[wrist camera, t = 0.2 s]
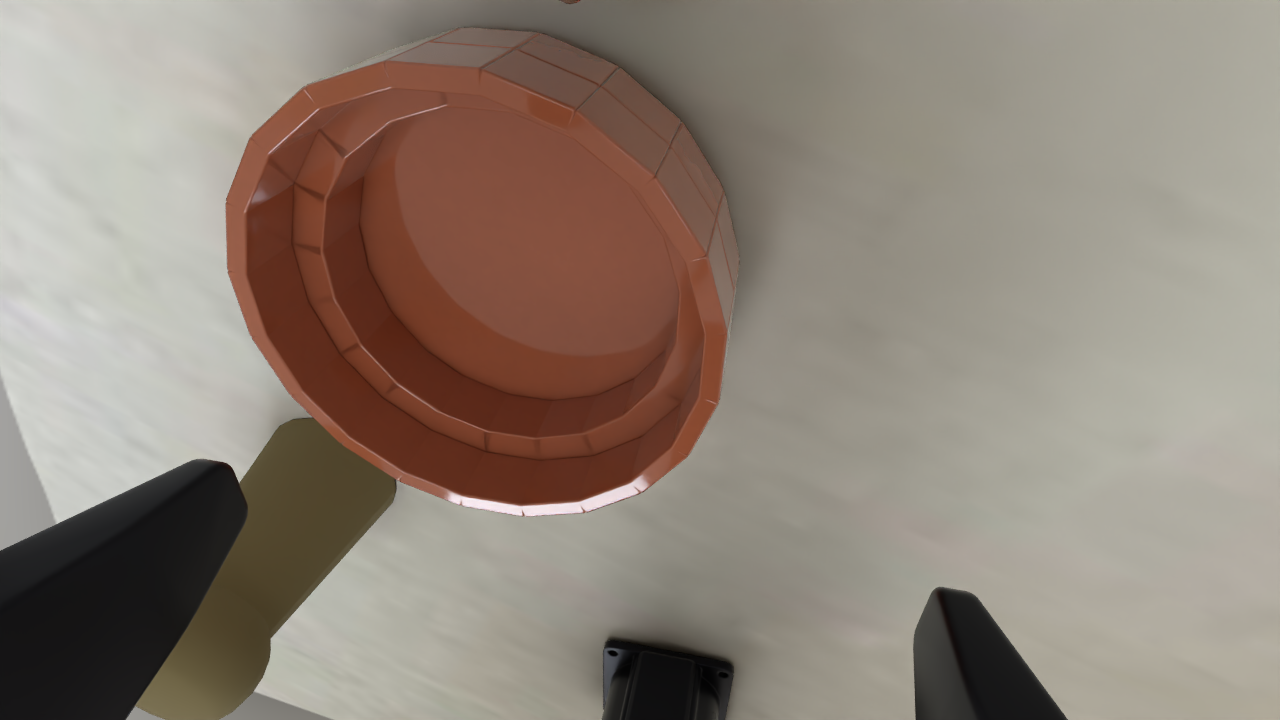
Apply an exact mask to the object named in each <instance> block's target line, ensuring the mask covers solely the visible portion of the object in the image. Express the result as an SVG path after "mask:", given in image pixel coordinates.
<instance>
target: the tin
mask: <svg viewBox="0 0 1280 720" xmlns="http://www.w3.org/2000/svg"><path fill="white" fill-rule="evenodd" d="M560 1H562V2H564V3H568V4H572V3H577V2H579V1H580V0H560Z"/></svg>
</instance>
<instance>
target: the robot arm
mask: <svg viewBox="0 0 1280 720" xmlns="http://www.w3.org/2000/svg"><path fill="white" fill-rule="evenodd" d="M247 516H248V505H247V502H246V499H245V497H244V494H243V492H242V489H241V487H240V485H239V482H238V480H237V477H236V475H235V473H234V470H233V469H232V467H231V466H230V465H228V464H227V463H224V462H219V461H213V460H207V459H196V460H192V461H190V462H187V463H185V464H183V465H181V466H179V467H177V468H175V469H173V470H171V471H168V472H166V473H164V474H162V475H160V476H158V477H156V478H154V479H151V480H149V481H147V482H145V483H143V484H141V485H139V486H137V487H135V488H132V489H130V490H128V491H126V492H124V493H122V494H120V495H118V496H116V497H113V498H111V499H109V500H107V501H105V502H103V503H101V504H99V505H96V506H94V507H92V508H90V509H88V510H86V511H84V512H82V513H80V514H77V515H75V516H73V517H71V518H69V519H67V520H65V521H63V522H60V523H58V524H56V525H54V526H52V527H50V528H48V529H46V530H44V531H41V532H39V533H37V534H35V535H33V536H31V537H29V538H27V539H24V540H23V541H20V542H18V543H16V544H14V545H12V546H10V547H7V548H5V549H3V550H1V551H0V720H126V718H127V717H128V716H129V714H130V713H131V711H132V710H133V708H134V707H135V705H136V704H137V702H138V701H139V699H140V698H141V696H142V695H143V693H144V692H145V691H146V689H147V688H148V686H149V685H150V683H151V682H152V680H153V679H154V677H155V676H156V674H157V673H158V671H159V670H160V668H161V667H162V665H163V664H164V662H165V661H166V659H167V658H168V656H169V655H170V654H171V652H172V651H173V649H174V648H175V646H176V645H177V643H178V642H179V640H180V638H181V637H182V635H183V634H184V632H185V631H186V629H187V628H188V626H189V624H190V622H191V621H192V619H193V617H194V616H195V614H196V612H197V610H198V609H199V607H200V605H201V603H202V601H203V600H204V598H205V596H206V594H207V592H208V590H209V589H210V587H211V585H212V583H213V581H214V579H215V578H216V576H217V574H218V572H219V570H220V568H221V567H222V565H223V563H224V561H225V559H226V557H227V556H228V554H229V552H230V550H231V548H232V547H233V545H234V543H235V541H236V539H237V537H238V536H239V534H240V532H241V530H242V528H243V526H244V524H245V522H246V519H247ZM913 653H914V683H915V713H916V720H1068V719H1067V718H1066V717H1065V715H1064V714H1063V713H1062V711H1061V710H1060V709H1059V707H1058V706H1057V704H1056V703H1055V702H1054V700H1053V699H1052V698H1051V696H1050V695H1049V694H1048V692H1047V691H1046V690H1045V688H1044V687H1043V686H1042V684H1041V683H1040V682H1039V680H1038V679H1037V677H1036V676H1035V675H1034V673H1033V672H1032V671H1031V669H1030V668H1029V667H1028V665H1027V664H1026V663H1025V661H1024V660H1023V659H1022V657H1021V656H1020V654H1019V653H1018V652H1017V650H1016V649H1015V648H1014V646H1013V645H1012V644H1011V642H1010V641H1009V640H1008V638H1007V637H1006V636H1005V634H1004V633H1003V632H1002V630H1001V629H1000V627H999V626H998V625H997V623H996V622H995V621H994V619H993V618H992V617H991V615H990V614H989V613H988V611H987V610H986V609H985V607H984V606H983V604H982V603H981V602H980V600H979V599H978V598H977V597H976V596H975V595H973V594H972V593H970V592H967V591H962V590H956V589H950V588H944V587H937V588H935V589H934V590H933V591H932V593H931V595H930V597H929V599H928V602H927V604H926V606H925V608H924V611H923V613H922V615H921V618H920V620H919V622H918V624H917V627H916V630H915V634H914V644H913ZM733 673H734V667H733V666H732V665H731V664H729V663H727V662H724V661H718V660H713V659H708V658H703V657H698V656H693V655H687V654H682V653H677V652H672V651H667V650H662V649H656V648H651V647H646V646H641V645H636V644H631V643H625V642H620V641H615V640H610V641H607V642H606V643H605V647H604V650H603V709H604V712H603V716H602V720H725V717H726V712H727V707H728V701H729V696H730V691H731V686H732V680H733Z"/></svg>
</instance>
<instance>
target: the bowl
mask: <svg viewBox="0 0 1280 720" xmlns="http://www.w3.org/2000/svg"><path fill="white" fill-rule="evenodd" d="M226 201H227V202H226V240H227V269H228V274H229V277H230V280H231V283H232V286H233V289H234V291H235V294H236V297H237V300H238V303H239V305H240V308H241V311H242V314H243V317H244V320H245V322H246V325H247V328H248V331H249V334H250V336H252V339H253V341H254V342H255V344H256V345H257V347H258V348H259V350H260V351H261V353H262V354H263V356H264V357H265V359H266V360H267V362H268V363H269V365H270V366H271V368H272V369H273V371H274V372H275V374H276V375H277V377H278V378H279V380H280V381H281V383H282V384H283V386H284V387H285V389H286V390H287V392H288V393H289V394H290V395H291V396H292V398H293V399H294V400H295V401H296V402H297V403H298V404H300V405H301V406H302V407H303V408H304V409H305V410H306V411H307V412H308V413H309V414H310V415H311V416H312V417H313V418H314V419H315V420H316V421H317V422H318V423H319V424H320V425H321V426H322V427H323V428H324V429H326V430H327V431H328V432H329V433H330V434H331V435H332V436H333V437H334V438H335V439H336V440H337V441H338V442H339V443H342V445H343V446H344V447H346V448H347V449H349V450H351V451H352V452H354V453H355V454H357V455H358V456H360V457H362V458H363V459H365V460H366V461H368V462H369V463H371V464H372V465H374V466H376V467H377V468H379V469H380V470H382V471H383V472H385V473H387V474H388V475H390V476H391V477H393V478H394V479H396V480H398V481H399V480H400V482H402V483H404V484H407V485H409V486H412V487H414V488H417V489H419V490H422V491H424V492H427V493H430V494H432V495H435V496H437V497H440V498H442V499H445V500H447V501H450V502H452V503H455V504H457V505H462V506H464V507H470V508H476V509H482V510H488V511H493V512H499V513H505V514H511V515H517V516H526V517H529V516H545V515H561V514H577V513H585V512H590V511H593V510H596V509H598V508H601V507H604V506H607V505H610V504H613V503H615V502H618V501H621V500H624V499H627V498H630V497H632V496H635V495H638V494H640V493H642V492H644V491H645V490H647V489H648V488H649V487H650V486H652V485H653V484H654V483H655V482H657V481H658V480H659V479H661V478H662V477H663V476H664V475H666V474H667V473H668V472H669V471H671V470H672V469H673V468H674V467H676V466H677V465H678V464H679V463H681V462H682V461H683V460H684V459H686V458H687V457H688V455H689V454H690V453H691V451H692V449H693V448H694V446H695V444H696V442H697V441H698V439H699V437H700V435H701V434H702V432H703V430H704V428H705V427H706V425H707V423H708V421H709V420H710V418H711V416H712V414H713V413H714V411H715V409H716V407H717V405H718V404H719V400H720V395H721V389H722V383H723V377H724V370H725V364H726V358H727V351H728V345H729V339H730V333H731V326H732V320H733V312H734V304H735V296H736V288H737V280H738V272H739V264H740V261H739V252H738V248H737V243H736V239H735V235H734V230H733V226H732V221H731V217H730V213H729V208H728V204H727V200H726V195H725V192H724V191H723V187H722V185H721V183H720V182H719V180H718V178H717V177H716V175H715V174H714V172H713V170H712V169H711V167H710V165H709V164H708V162H707V160H706V159H705V157H704V155H703V154H702V152H701V151H700V149H699V147H698V146H697V144H696V142H695V141H694V139H693V137H692V136H691V134H690V132H689V131H688V129H687V128H686V126H685V124H684V123H681V120H680V119H679V118H678V117H677V116H676V115H675V114H673V113H672V112H671V111H670V110H669V109H668V108H666V107H665V106H664V105H663V104H662V103H661V102H660V101H658V100H657V99H656V98H655V97H654V96H653V95H652V94H650V93H649V92H648V91H647V90H646V89H645V88H644V87H642V86H641V85H640V84H639V83H638V82H637V81H635V80H634V79H633V78H632V77H631V76H630V75H629V74H627V73H626V72H625V71H624V70H623V69H622V68H618V66H617V65H616V64H614V63H611V62H609V61H607V60H604V59H602V58H600V57H597V56H595V55H593V54H590V53H588V52H586V51H583V50H581V49H579V48H576V47H574V46H572V45H569V44H567V43H565V42H562V41H560V40H558V39H555V38H553V37H551V36H548V35H546V34H540V33H538V32H528V31H514V30H499V29H485V28H470V27H463V28H456V29H452V30H449V31H446V32H443V33H440V34H437V35H434V36H431V37H427V38H424V39H421V40H418V41H415V42H412V43H409V44H406V45H402V46H399V47H396V48H393V49H391V50H389V51H386V52H384V53H381V54H379V55H377V56H374V57H372V58H370V59H367V60H365V61H362V62H360V63H358V64H356V65H353V66H350V67H348V68H346V69H343V70H341V71H338V72H336V73H334V74H331V75H329V76H326V77H324V78H322V79H319V80H317V81H314V82H312V83H310V84H307V85H306V86H304V87H302V88H301V89H300V90H299V91H298V92H297V93H296V94H295V95H294V96H293V97H292V98H291V99H290V100H288V101H287V102H286V103H285V104H284V105H283V106H282V107H281V108H280V109H279V110H278V111H277V112H276V113H275V114H273V115H272V116H271V117H270V118H269V119H268V120H267V121H266V122H265V123H264V124H263V125H262V126H261V127H259V128H258V129H257V130H256V131H255V132H254V133H253V134H252V136H251V137H250V139H249V141H248V144H247V146H246V149H245V152H244V154H243V157H242V159H241V162H240V165H239V167H238V170H237V172H236V175H235V178H234V180H233V183H232V185H231V188H230V191H229V193H228V196H227V198H226Z"/></svg>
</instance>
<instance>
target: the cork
mask: <svg viewBox="0 0 1280 720" xmlns="http://www.w3.org/2000/svg"><path fill="white" fill-rule="evenodd" d="M239 485H240V487H241V489H242V492H243V494H244V497H245V499H246V502H247V505H248V516H247V519H246V522H245V524H244V526H243V528H242V530H241V532H240V534H239V536H238V537H237V539H236V541H235V543H234V545H233V547H232V548H231V550H230V552H229V554H228V556H227V557H226V559H225V561H224V563H223V565H222V567H221V568H220V570H219V572H218V574H217V576H216V578H215V579H214V581H213V583H212V585H211V587H210V589H209V590H208V592H207V594H206V596H205V598H204V600H203V601H202V603H201V605H200V607H199V609H198V610H197V612H196V614H195V616H194V617H193V619H192V621H191V622H190V624H189V626H188V628H187V629H186V631H185V632H184V634H183V635H182V637H181V638H180V640H179V642H178V643H177V645H176V646H175V648H174V649H173V651H172V652H171V654H170V655H169V656H168V658H167V659H166V661H165V662H164V664H163V665H162V667H161V668H160V670H159V671H158V673H157V674H156V676H155V677H154V679H153V680H152V682H151V683H150V685H149V686H148V688H147V689H146V691H145V692H144V693H143V695H142V696H141V698H140V699H139V701H138V702H137V704H136V705H135V706H136V707H138V708H140V709H142V710H144V711H146V712H148V713H150V714H152V715H155V716H157V717H160V718H163V719H165V720H219V719H221V718H223V717H225V716H226V715H228V714H230V713H232V712H233V711H234V710H235V709H236V708H237V707H238V706H239V705H241V703H243V701H245V699H247V698H248V697H249V696H250V695H251V694H252V693H253V691H254V690H255V688H256V687H257V685H258V684H259V682H260V681H261V679H262V678H263V675H264V673H265V670H266V667H267V665H268V662H269V658H270V651H271V646H270V639H271V637H272V636H273V635H274V634H275V633H276V632H277V631H278V630H279V629H280V627H281V626H282V625H283V624H284V623H285V622H286V621H287V620H288V619H289V617H290V616H291V615H292V614H293V613H294V612H295V611H296V610H297V608H298V607H299V606H300V605H301V604H302V603H303V602H304V601H305V600H306V598H307V597H308V596H309V595H310V594H311V593H312V592H313V591H314V590H315V588H316V587H317V586H318V585H319V584H320V583H321V582H322V581H323V579H324V578H325V577H326V576H327V575H328V574H329V573H330V572H331V571H332V569H333V568H334V567H335V566H336V565H337V564H338V563H339V562H340V561H341V559H342V558H343V557H344V556H345V555H346V554H347V553H348V552H349V550H350V549H351V548H352V547H353V546H354V545H355V544H356V543H357V542H358V540H359V539H360V538H361V537H362V536H363V535H364V534H365V533H366V532H367V530H368V529H369V528H370V527H371V526H372V525H373V524H374V523H375V521H376V520H377V519H378V518H379V517H380V516H381V515H382V514H383V513H384V511H385V510H386V509H387V508H388V507H389V506H390V505H391V504H392V503H393V500H394V496H395V492H396V486H395V481H394V478H393V477H391V476H390V475H388V474H387V473H385V472H383V471H382V470H380V469H379V468H377V467H376V466H374V465H372V464H371V463H369V462H368V461H366V460H365V459H363V458H362V457H360V456H358V455H357V454H355V453H354V452H352V451H351V450H349V449H347V448H346V447H344V446H343V445H342V443H339V442H338V441H337V440H336V439H335V438H334V437H333V436H332V435H331V434H330V433H329V432H328V431H327V430H326V429H324V428H323V427H322V426H321V425H320V424H319V423H318V422H317V421H316V420H315V419H312V418H306V419H293V420H291V421H289V422H287V423H285V424H283V425H281V426H279V427H278V429H277V430H276V432H275V433H274V435H273V436H272V437H271V439H270V440H269V442H268V443H267V445H266V446H265V447H264V449H263V450H262V452H261V453H260V455H259V456H258V457H257V459H256V460H255V462H254V463H253V465H252V466H251V467H250V469H249V470H248V472H247V473H246V475H245V476H244V477H243V479H242V480H241V482H240V483H239Z"/></svg>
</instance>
